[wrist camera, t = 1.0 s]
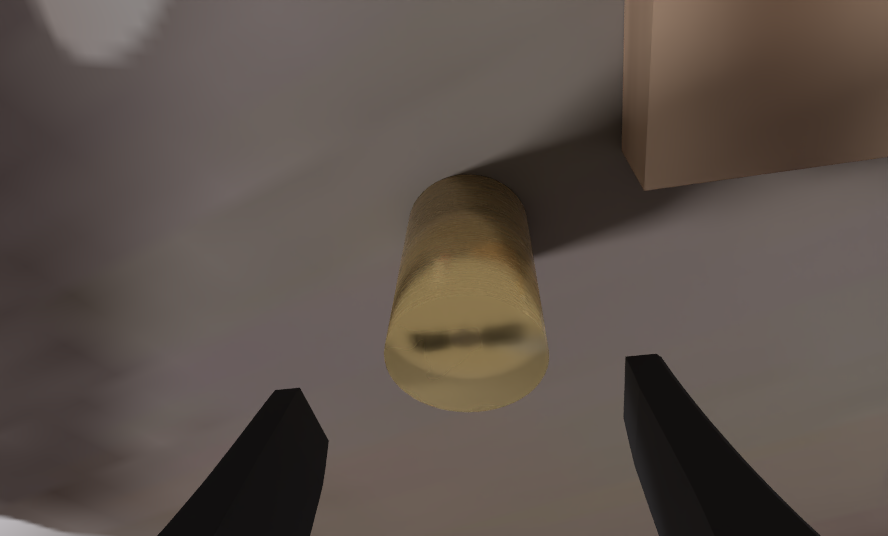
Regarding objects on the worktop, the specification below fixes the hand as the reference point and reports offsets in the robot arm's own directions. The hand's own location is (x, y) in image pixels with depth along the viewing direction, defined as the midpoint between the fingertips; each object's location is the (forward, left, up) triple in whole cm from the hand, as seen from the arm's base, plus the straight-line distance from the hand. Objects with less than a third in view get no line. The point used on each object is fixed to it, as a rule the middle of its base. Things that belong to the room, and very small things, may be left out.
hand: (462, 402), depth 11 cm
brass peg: (0, 0, -7) cm, 7 cm away
